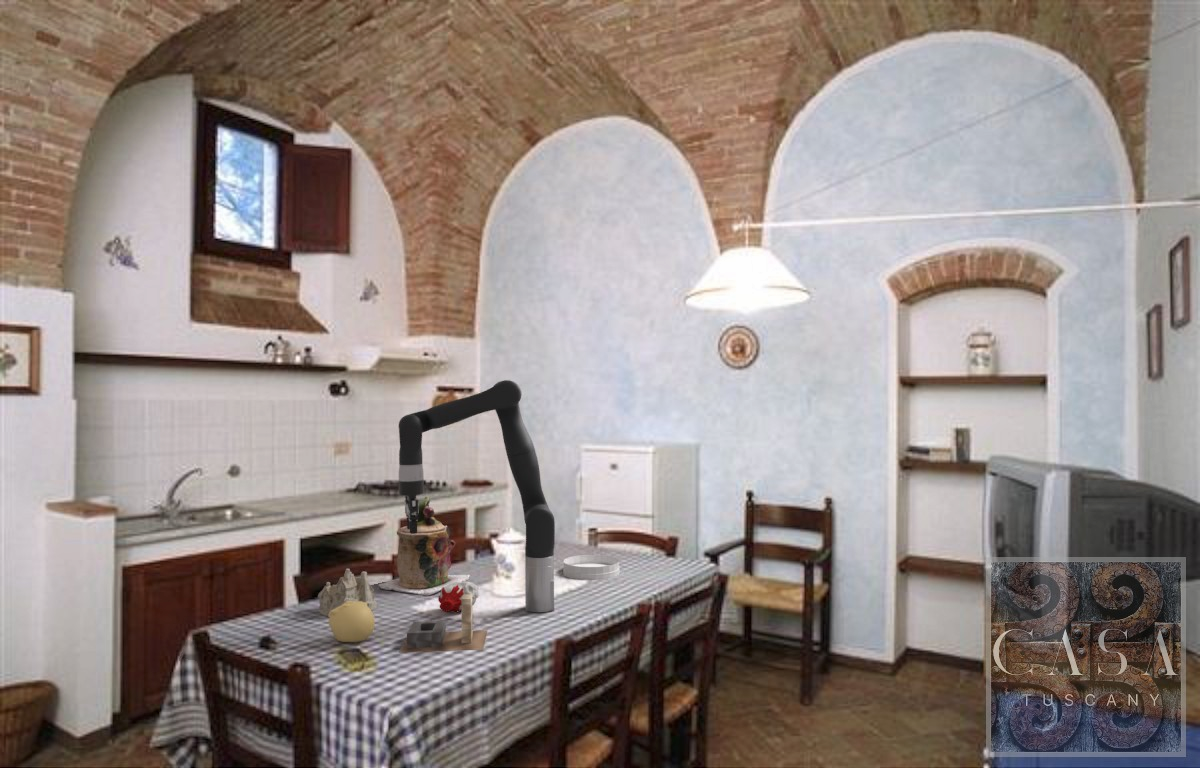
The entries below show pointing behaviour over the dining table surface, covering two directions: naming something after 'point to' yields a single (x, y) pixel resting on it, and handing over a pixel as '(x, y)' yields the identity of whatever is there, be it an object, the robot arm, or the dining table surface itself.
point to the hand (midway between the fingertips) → (412, 531)
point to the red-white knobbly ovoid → (456, 595)
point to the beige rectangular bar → (467, 618)
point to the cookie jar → (424, 556)
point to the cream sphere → (351, 621)
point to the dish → (591, 567)
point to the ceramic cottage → (346, 593)
